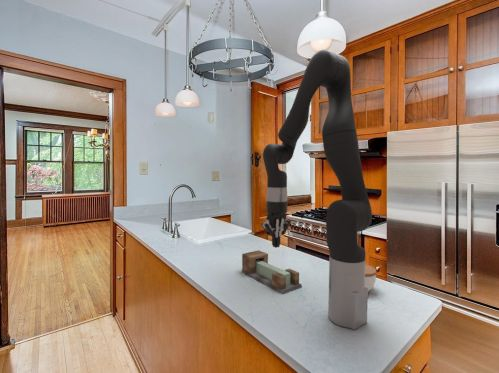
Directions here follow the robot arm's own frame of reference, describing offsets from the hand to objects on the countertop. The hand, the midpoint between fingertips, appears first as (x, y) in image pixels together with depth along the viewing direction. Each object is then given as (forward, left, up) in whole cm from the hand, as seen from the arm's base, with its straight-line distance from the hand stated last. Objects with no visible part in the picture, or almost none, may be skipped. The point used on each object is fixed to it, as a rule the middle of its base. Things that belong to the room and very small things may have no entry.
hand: (276, 246), depth 97 cm
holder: (+3, 0, -13) cm, 14 cm away
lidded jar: (-22, -19, -14) cm, 32 cm away
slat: (+4, 0, -12) cm, 13 cm away
